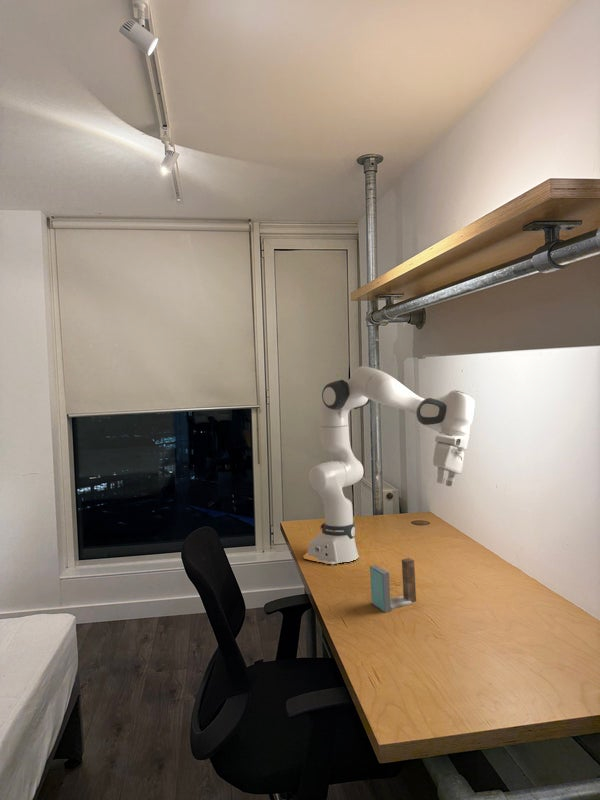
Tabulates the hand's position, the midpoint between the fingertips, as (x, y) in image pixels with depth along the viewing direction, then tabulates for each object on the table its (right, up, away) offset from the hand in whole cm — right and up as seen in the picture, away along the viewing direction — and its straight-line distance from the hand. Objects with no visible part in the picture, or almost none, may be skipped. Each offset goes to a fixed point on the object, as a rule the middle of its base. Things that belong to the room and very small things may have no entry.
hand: (444, 484), depth 177 cm
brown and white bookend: (-14, -37, +1) cm, 40 cm away
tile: (-20, -38, -2) cm, 43 cm away
